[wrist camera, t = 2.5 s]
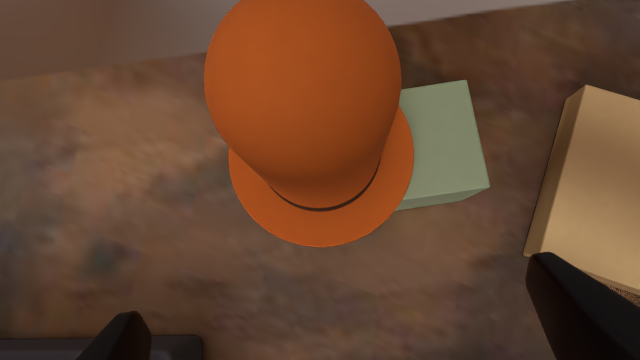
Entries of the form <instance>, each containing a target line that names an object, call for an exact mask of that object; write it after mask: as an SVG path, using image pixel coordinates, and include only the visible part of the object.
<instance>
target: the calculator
mask: <svg viewBox="0 0 640 360" xmlns="http://www.w3.org/2000/svg"><path fill="white" fill-rule="evenodd" d="M93 340H94V339H0V360H75V359H76V358H77V357H78V356H79V355H80V353H81V352H82V351H83V350H84V349H85V348H86V347H87V346H88V345H89V344H90V343H91V342H92V341H93ZM150 360H202V342H201V340H200V338H199V337H197V336H193V335H176V336H152V345H151V353H150Z"/></svg>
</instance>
